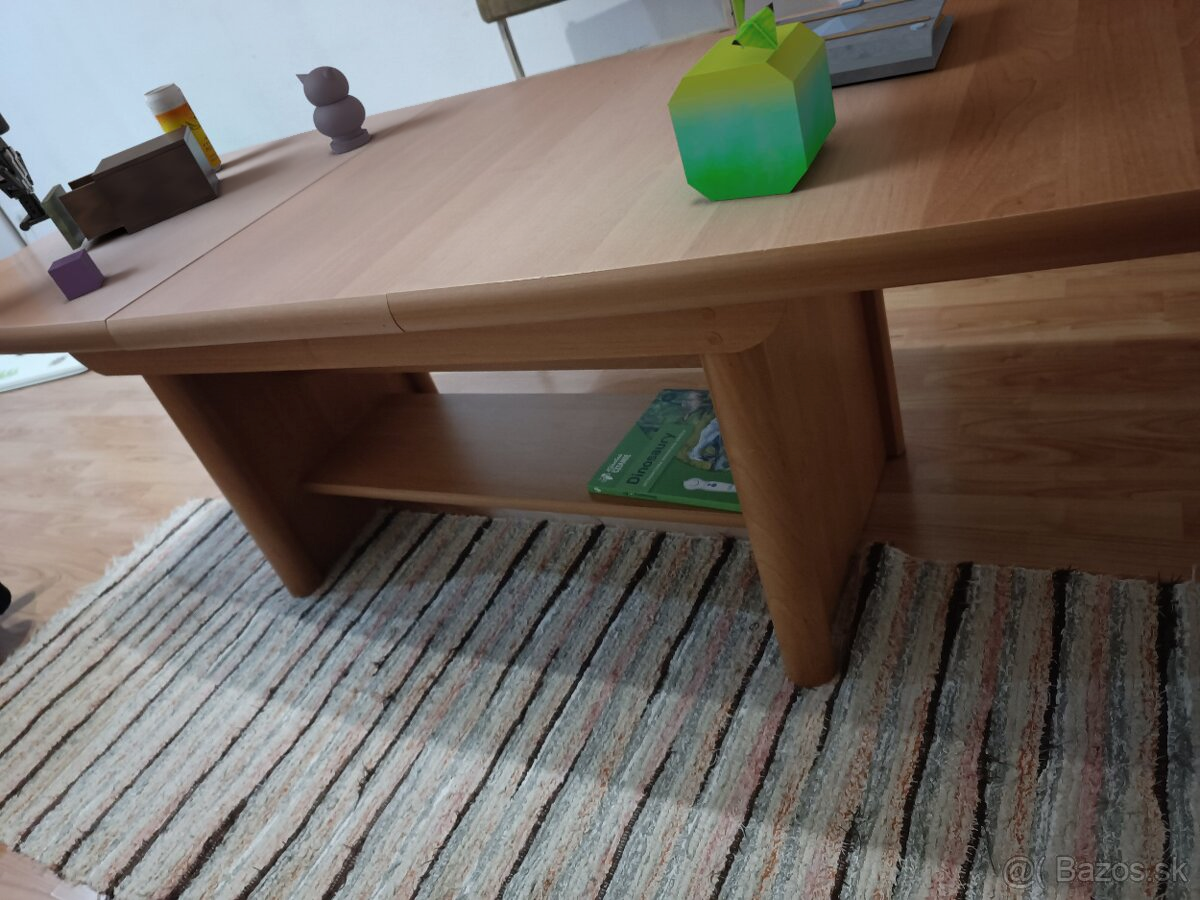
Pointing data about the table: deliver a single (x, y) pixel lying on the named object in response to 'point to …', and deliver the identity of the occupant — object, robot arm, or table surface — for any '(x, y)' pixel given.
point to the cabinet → (156, 179)
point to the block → (76, 274)
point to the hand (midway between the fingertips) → (41, 218)
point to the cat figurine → (335, 108)
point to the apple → (754, 109)
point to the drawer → (77, 212)
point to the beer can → (179, 117)
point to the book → (879, 37)
